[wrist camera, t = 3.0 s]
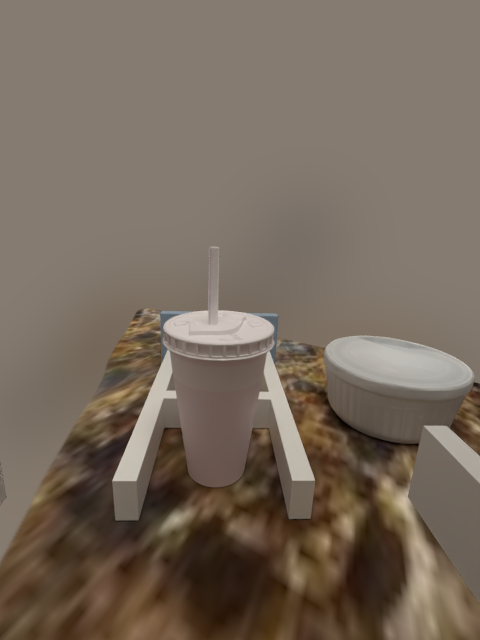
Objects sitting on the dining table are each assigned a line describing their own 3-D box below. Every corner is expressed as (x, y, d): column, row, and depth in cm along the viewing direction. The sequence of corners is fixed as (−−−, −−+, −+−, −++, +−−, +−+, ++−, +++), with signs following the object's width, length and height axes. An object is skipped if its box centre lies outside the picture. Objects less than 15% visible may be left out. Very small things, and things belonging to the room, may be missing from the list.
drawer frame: (273, 366, 38) (276, 313, 36) (325, 518, 19) (337, 421, 17) (163, 364, 37) (162, 310, 36) (100, 520, 18) (90, 420, 16)
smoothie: (144, 469, 22) (134, 244, 18) (213, 426, 27) (216, 241, 23) (220, 525, 18) (228, 255, 14) (284, 462, 23) (303, 249, 19)
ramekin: (440, 394, 34) (451, 343, 32) (482, 471, 23) (502, 400, 22) (322, 376, 36) (327, 328, 35) (313, 437, 26) (321, 373, 25)
